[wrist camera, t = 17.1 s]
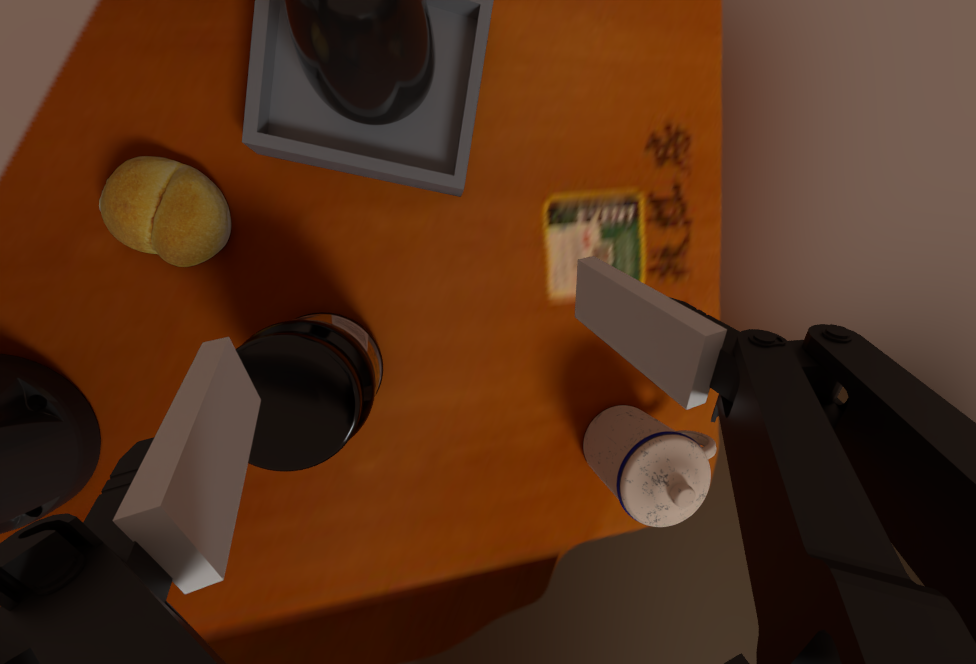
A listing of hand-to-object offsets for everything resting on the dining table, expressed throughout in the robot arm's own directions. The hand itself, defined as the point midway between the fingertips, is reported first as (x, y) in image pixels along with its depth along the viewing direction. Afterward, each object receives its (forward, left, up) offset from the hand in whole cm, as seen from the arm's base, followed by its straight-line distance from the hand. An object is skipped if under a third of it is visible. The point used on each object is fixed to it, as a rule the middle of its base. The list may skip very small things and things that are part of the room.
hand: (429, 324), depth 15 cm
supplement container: (-8, -8, -24) cm, 26 cm away
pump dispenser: (-7, +18, -23) cm, 30 cm away
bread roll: (-22, +3, -24) cm, 33 cm away
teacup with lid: (+25, -12, -24) cm, 36 cm away
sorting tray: (-7, +18, -23) cm, 30 cm away
